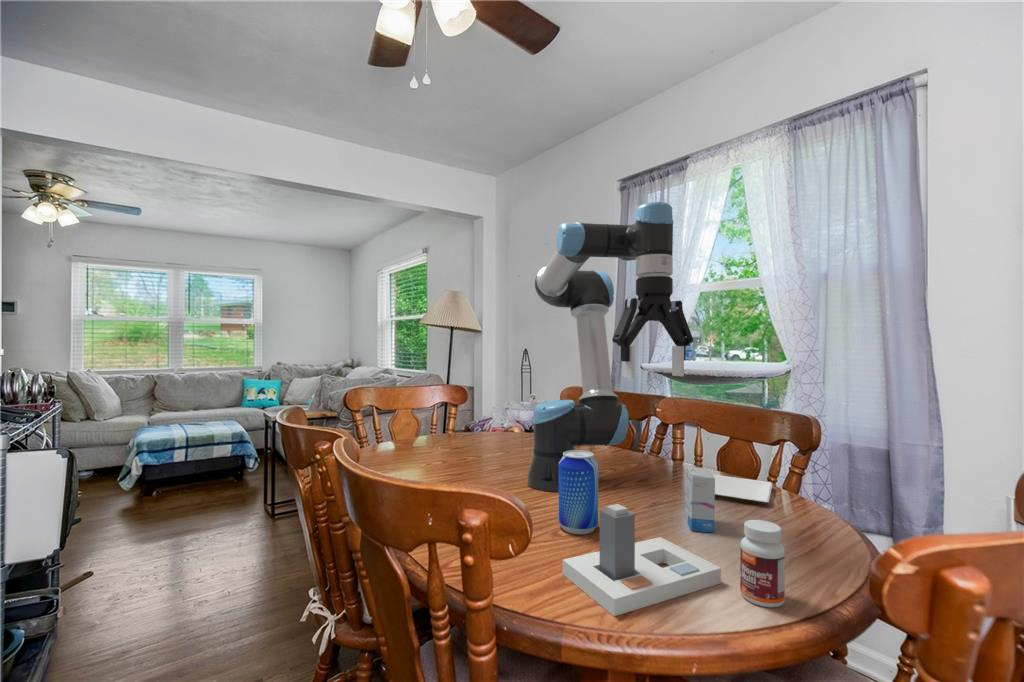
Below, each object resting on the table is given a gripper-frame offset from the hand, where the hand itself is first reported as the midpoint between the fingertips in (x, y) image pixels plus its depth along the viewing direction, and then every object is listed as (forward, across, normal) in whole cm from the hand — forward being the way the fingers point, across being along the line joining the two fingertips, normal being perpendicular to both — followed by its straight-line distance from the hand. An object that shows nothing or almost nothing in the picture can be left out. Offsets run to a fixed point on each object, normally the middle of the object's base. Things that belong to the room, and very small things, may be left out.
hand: (654, 376), depth 101 cm
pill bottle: (+33, -4, -28) cm, 43 cm away
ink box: (+33, +11, -2) cm, 35 cm away
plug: (+33, -22, -15) cm, 42 cm away
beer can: (+33, -14, +8) cm, 36 cm away
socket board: (+33, -17, -15) cm, 40 cm away
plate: (+33, +37, +11) cm, 51 cm away
